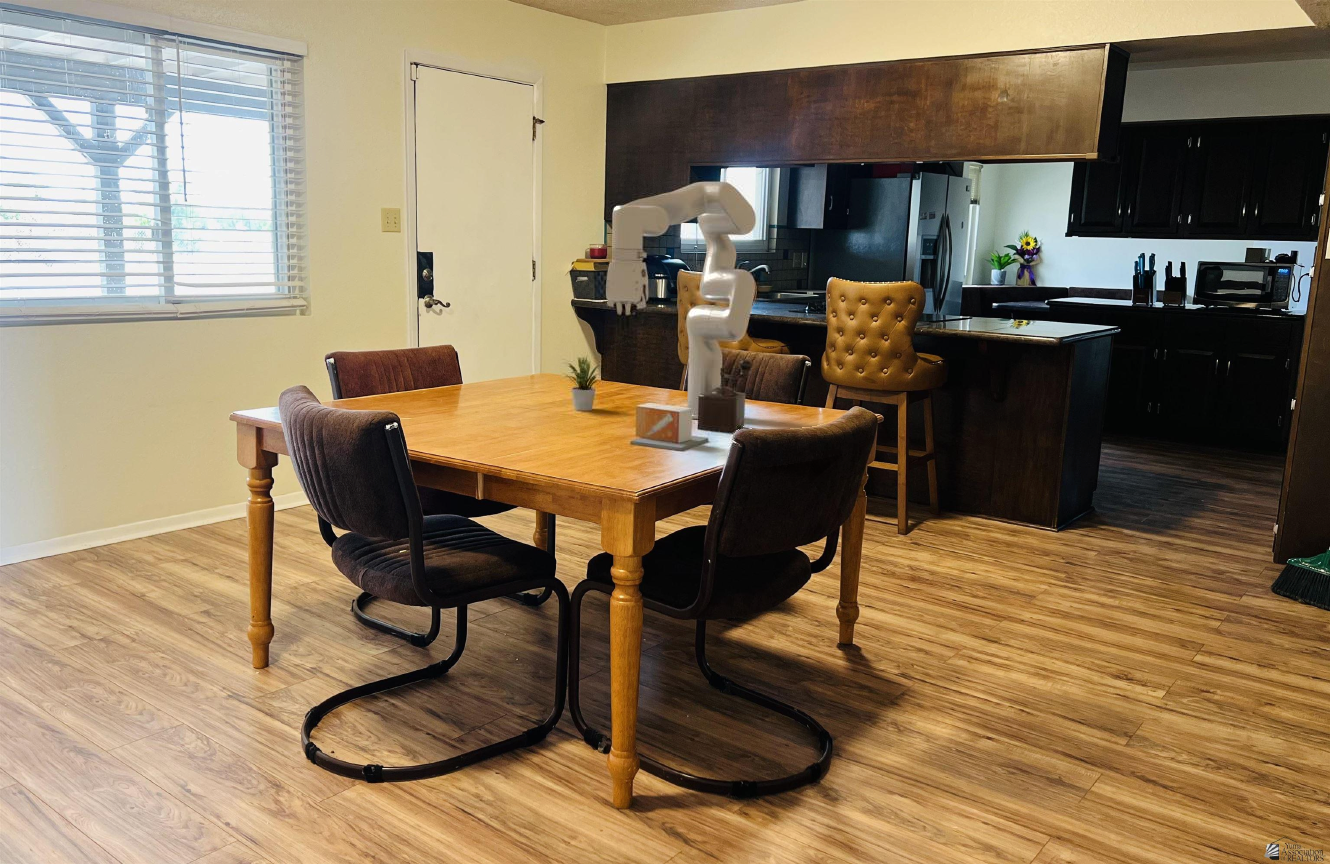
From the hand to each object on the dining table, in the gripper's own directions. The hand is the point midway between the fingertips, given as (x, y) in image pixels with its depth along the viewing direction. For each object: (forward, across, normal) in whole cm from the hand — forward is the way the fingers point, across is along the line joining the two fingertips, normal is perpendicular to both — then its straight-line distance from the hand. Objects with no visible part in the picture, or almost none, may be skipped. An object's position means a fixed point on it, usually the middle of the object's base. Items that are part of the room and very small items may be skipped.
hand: (625, 330), depth 257 cm
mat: (+27, -14, +1) cm, 30 cm away
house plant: (+27, +31, -27) cm, 49 cm away
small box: (+22, -5, +1) cm, 23 cm away
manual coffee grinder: (+27, -16, -27) cm, 41 cm away
